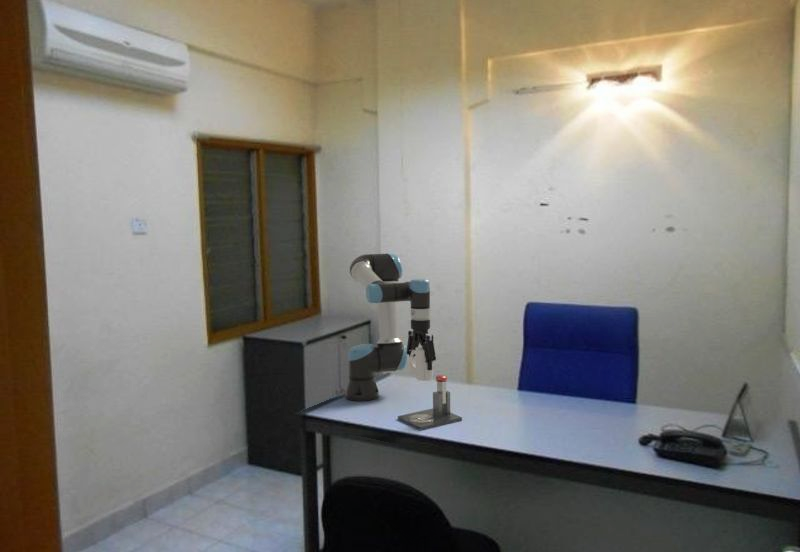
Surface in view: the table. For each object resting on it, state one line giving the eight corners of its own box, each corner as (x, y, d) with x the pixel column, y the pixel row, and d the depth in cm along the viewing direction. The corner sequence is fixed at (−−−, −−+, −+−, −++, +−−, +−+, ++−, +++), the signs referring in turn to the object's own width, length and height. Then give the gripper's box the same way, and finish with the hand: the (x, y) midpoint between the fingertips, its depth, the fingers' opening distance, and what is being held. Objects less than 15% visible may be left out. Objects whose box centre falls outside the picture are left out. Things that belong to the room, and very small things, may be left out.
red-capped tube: (434, 402, 244) (433, 376, 243) (442, 400, 246) (442, 374, 245) (440, 404, 240) (440, 378, 239) (449, 402, 242) (449, 376, 241)
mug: (436, 378, 236) (436, 347, 235) (427, 381, 231) (426, 350, 230) (415, 374, 242) (414, 345, 241) (405, 378, 237) (405, 348, 236)
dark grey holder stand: (397, 419, 242) (397, 394, 241) (437, 410, 252) (437, 386, 252) (420, 430, 228) (420, 404, 227) (461, 420, 239) (461, 395, 238)
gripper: (396, 316, 242) (397, 371, 244) (429, 323, 223) (429, 382, 225) (412, 314, 246) (413, 368, 248) (445, 321, 227) (445, 379, 229)
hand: (421, 375), depth 236 cm, fingers closed on mug, 9 cm apart
